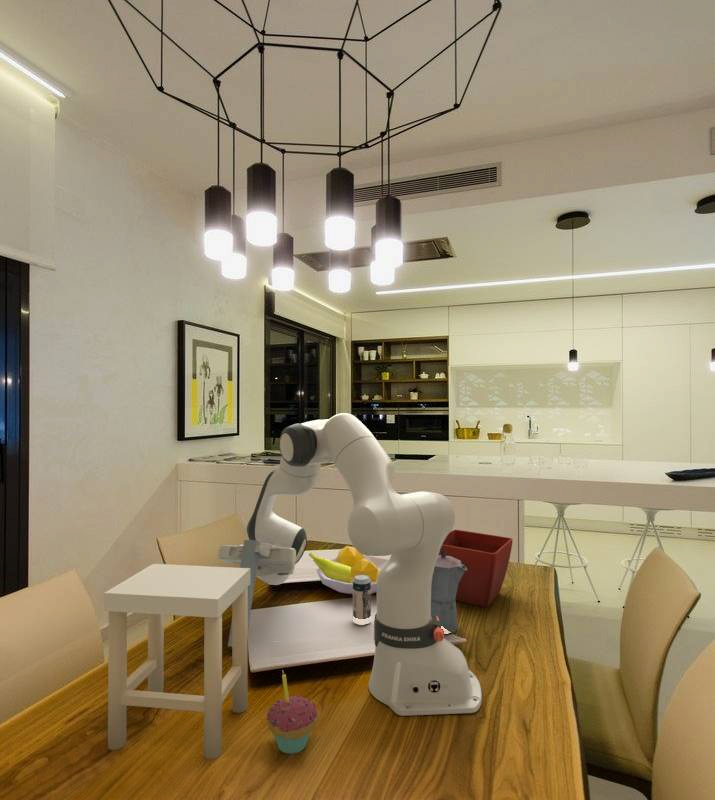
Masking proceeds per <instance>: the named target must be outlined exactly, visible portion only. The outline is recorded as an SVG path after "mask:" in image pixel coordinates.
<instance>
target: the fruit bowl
mask: <svg viewBox="0 0 715 800" xmlns="http://www.w3.org/2000/svg"><path fill="white" fill-rule="evenodd" d="M308 556H309V557H310V558H311V559H312V561H313V562H314V564H315V565H316V566H317V568H316V569H315V570H316V572H317V575H318V577H319V579H320V581H321V583H322V585H325V586H327V587H328V588H330V589H332V590H334V591H337V592H339V593H343V594H347V595H353V579H354V577H355V576H356V575H362V574H364V575H368V576H369V578H370V580H371V595H372V594H375V593H376V594H377V578H378V575H379V573H380V572H381V570H382V569H383V568H384V567H385V565H386V564H387V563H388V561H389V559H390V558H389V559H387V558H382V557H379V556H365V555H362V554H361V553H359V552H358V551H357V550H356V549H355V548H354V546H351V545H350V546H349V545H346V546H344V547H343V548H342V549H341V550H339V551H338V553H337V556H336V557H335V558H332V559H328V558H327V559H326V558H325V557H320V556H318V555H317V556H316V555H315V554H314V553H312V552H310V553H308ZM327 578H330V579H327ZM331 579H333V580H331Z"/></svg>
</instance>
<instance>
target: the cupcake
mask: <svg viewBox="0 0 715 800" xmlns="http://www.w3.org/2000/svg"><path fill="white" fill-rule="evenodd" d="M281 672H282V675H281V678H282V686H283V695H284V697H283V698H282V699H280V700H277V701H276V702H273V705H272V706H271V707H270V708H269V709H268V710H269V711H268V712H267V714H266V720H267V724H268V730H269V732H271V733H272V734H273V736H274V738H275V741H276V743H277V747H278V749H279V750H280V752H282V753H284V754H297V753H299V752H301V751H303V750H304V749H305V748H306V746H307V744H308V743H307V742H308V739H309V735H310V734H311V733H313V731H314V730H315V728H316V727H317V724H318V720H319V719H318V718H319V712H318V709H317V706H316V704H315V703H314V702H312V701H311V700H309V698H305V697H304V696H300V695H291V696H289V690H288V683H287V682H288V681H287V680H288V679H287V674H285V671H284V670H283V669H282V670H281Z"/></svg>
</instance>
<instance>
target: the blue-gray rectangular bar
mask: <svg viewBox="0 0 715 800" xmlns="http://www.w3.org/2000/svg"><path fill="white" fill-rule="evenodd" d="M243 545H244V547H243V553H242V559H241V565H240V567H239V568H250V585H249V586H248V627H249V624H250V618H251V610H252V604H253V599H254V598H253V597H254V592H255V591H254V589H255V585H256V584H255V583H256V578H257V577H256V571H257V564H258V557H259V554H256V553H255V549H256V548H255V547H256V546H260V542H258V541H257V540H249V539H244V540H243ZM228 636H229V637H228V641H227V647H229V648H230V647H232V621H231V624H230V629H229V635H228Z"/></svg>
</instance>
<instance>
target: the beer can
mask: <svg viewBox="0 0 715 800" xmlns="http://www.w3.org/2000/svg"><path fill="white" fill-rule="evenodd" d="M353 616H354V617H355V618H358V619H366V618H369V617H370V616H371V617H372V594H371V580H370V578H369V576H368V575H364V574H362V575H356V576H355V577H354V579H353V594H352V617H353Z"/></svg>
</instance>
